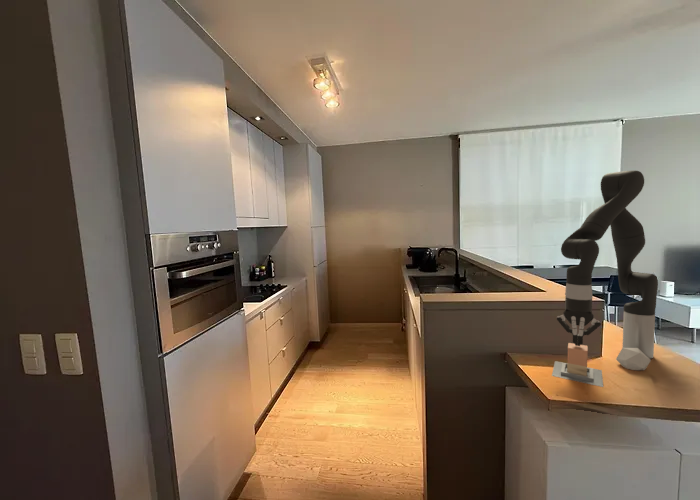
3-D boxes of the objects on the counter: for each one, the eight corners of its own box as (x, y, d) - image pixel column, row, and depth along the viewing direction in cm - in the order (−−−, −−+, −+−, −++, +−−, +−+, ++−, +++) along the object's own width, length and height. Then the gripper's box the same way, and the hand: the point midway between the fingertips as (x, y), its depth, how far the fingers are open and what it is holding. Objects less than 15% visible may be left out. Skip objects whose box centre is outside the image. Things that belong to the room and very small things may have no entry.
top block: (568, 357, 114) (568, 342, 113) (587, 360, 110) (587, 345, 110) (567, 363, 109) (567, 347, 109) (587, 366, 106) (587, 351, 105)
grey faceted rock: (650, 380, 107) (659, 355, 109) (623, 365, 109) (633, 341, 111) (632, 377, 115) (641, 354, 117) (607, 364, 117) (617, 341, 119)
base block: (567, 367, 114) (568, 357, 114) (586, 371, 111) (587, 360, 110) (567, 373, 110) (567, 363, 109) (586, 378, 106) (587, 366, 106)
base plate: (555, 364, 120) (555, 358, 120) (601, 373, 111) (601, 367, 111) (551, 379, 109) (551, 372, 109) (603, 390, 100) (603, 384, 100)
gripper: (602, 296, 107) (601, 345, 108) (556, 292, 115) (555, 338, 116) (603, 301, 101) (602, 352, 102) (554, 296, 109) (554, 344, 110)
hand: (577, 345), depth 109 cm, fingers closed
